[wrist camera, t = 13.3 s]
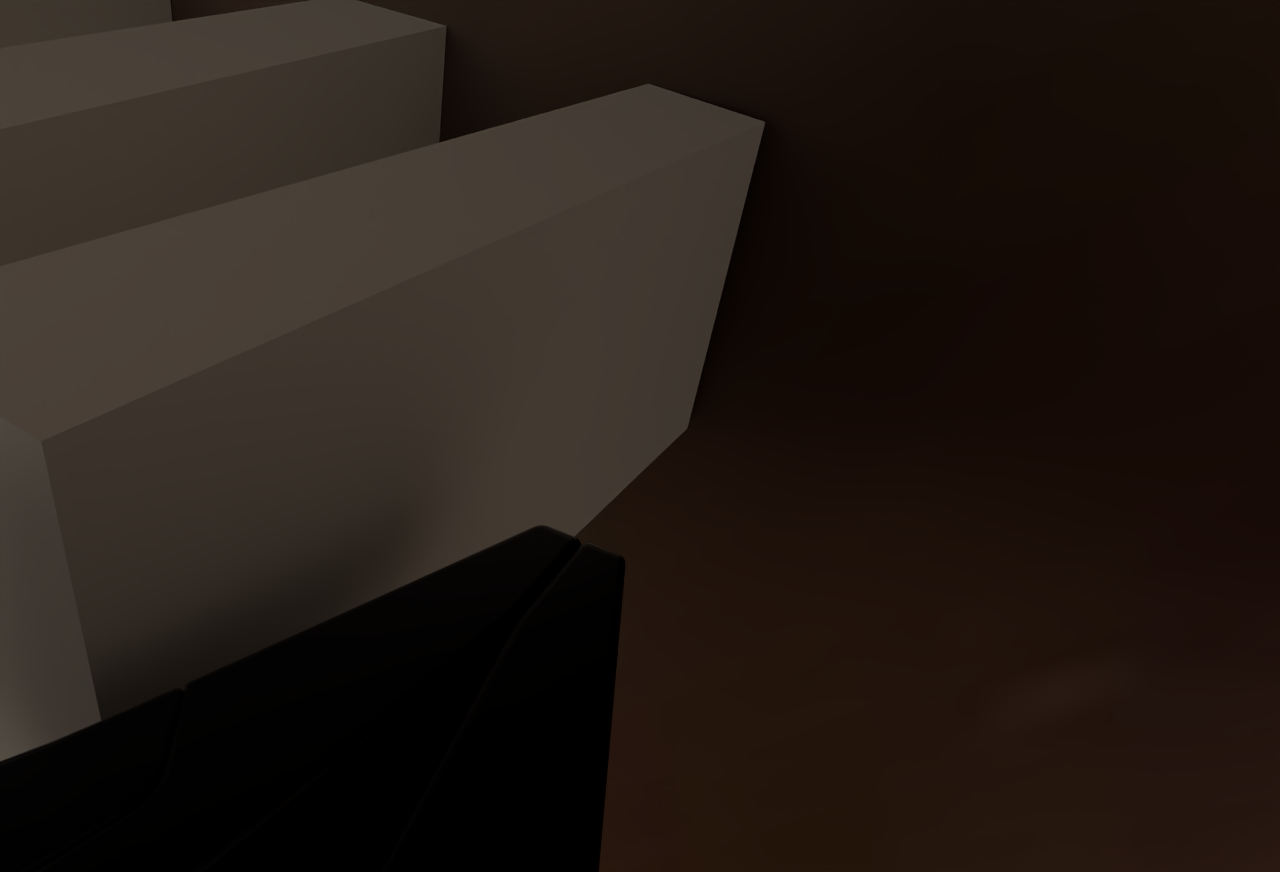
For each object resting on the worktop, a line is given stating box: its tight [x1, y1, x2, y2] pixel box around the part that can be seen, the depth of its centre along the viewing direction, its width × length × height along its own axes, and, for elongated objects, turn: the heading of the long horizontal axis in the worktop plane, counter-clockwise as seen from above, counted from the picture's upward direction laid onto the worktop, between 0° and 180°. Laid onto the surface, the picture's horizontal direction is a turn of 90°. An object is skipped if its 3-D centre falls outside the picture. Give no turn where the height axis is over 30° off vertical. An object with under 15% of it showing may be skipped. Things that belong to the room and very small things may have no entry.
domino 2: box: [0, 84, 765, 761], centre depth 10 cm, size 2×5×10 cm, turn 169°
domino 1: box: [0, 0, 447, 266], centre depth 11 cm, size 2×5×10 cm, turn 169°
